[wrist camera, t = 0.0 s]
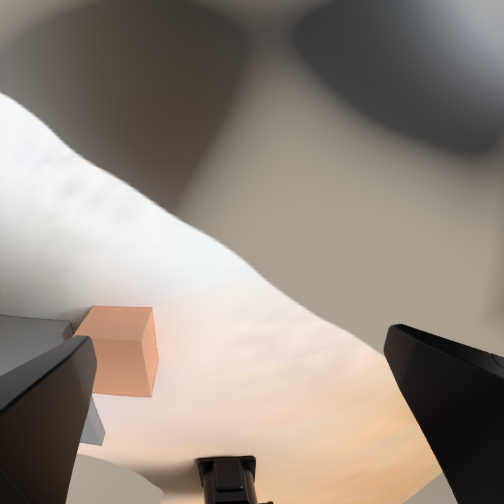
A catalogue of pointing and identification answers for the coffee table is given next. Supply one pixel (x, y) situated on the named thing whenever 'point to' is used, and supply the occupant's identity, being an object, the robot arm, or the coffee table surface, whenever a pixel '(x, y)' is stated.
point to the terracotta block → (122, 349)
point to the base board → (32, 345)
